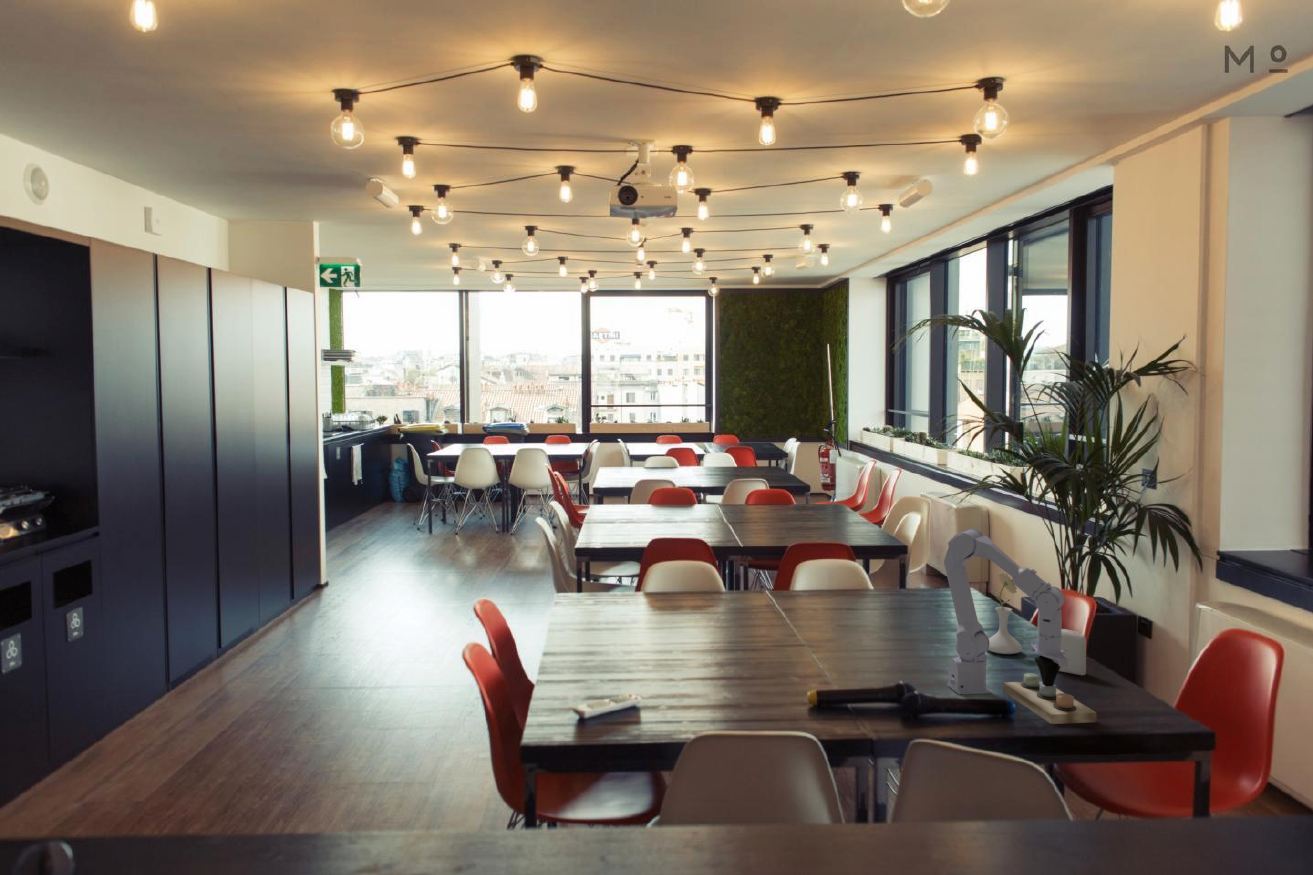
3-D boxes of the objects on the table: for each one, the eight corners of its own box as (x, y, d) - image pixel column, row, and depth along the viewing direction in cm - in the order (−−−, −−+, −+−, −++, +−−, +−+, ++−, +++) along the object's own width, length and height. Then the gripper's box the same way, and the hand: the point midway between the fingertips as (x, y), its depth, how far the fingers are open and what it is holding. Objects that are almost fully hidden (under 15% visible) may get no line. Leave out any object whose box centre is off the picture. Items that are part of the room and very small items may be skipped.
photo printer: (1046, 669, 263) (1047, 628, 262) (1051, 665, 266) (1052, 625, 265) (1082, 677, 256) (1084, 634, 255) (1087, 673, 259) (1088, 631, 258)
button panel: (1050, 723, 220) (1051, 712, 220) (1003, 690, 244) (1003, 680, 244) (1096, 722, 221) (1096, 711, 221) (1044, 689, 245) (1044, 679, 245)
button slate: (1044, 697, 230) (1044, 688, 230) (1036, 691, 234) (1036, 682, 234) (1059, 696, 231) (1059, 687, 231) (1050, 691, 235) (1050, 682, 234)
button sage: (1028, 686, 238) (1028, 678, 238) (1020, 681, 242) (1021, 673, 242) (1042, 686, 239) (1042, 677, 238) (1034, 681, 243) (1034, 672, 242)
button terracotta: (1061, 708, 222) (1062, 699, 222) (1053, 702, 226) (1053, 693, 226) (1076, 707, 223) (1077, 698, 223) (1067, 702, 227) (1068, 692, 227)
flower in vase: (1025, 658, 273) (1027, 578, 272) (986, 656, 275) (988, 576, 274) (1017, 646, 286) (1019, 569, 284) (980, 644, 288) (981, 568, 287)
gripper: (1079, 641, 225) (1078, 694, 225) (1048, 626, 239) (1047, 675, 240) (1053, 642, 224) (1052, 695, 225) (1023, 627, 238) (1022, 676, 239)
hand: (1048, 685), depth 232 cm, fingers closed, pressing on button slate
